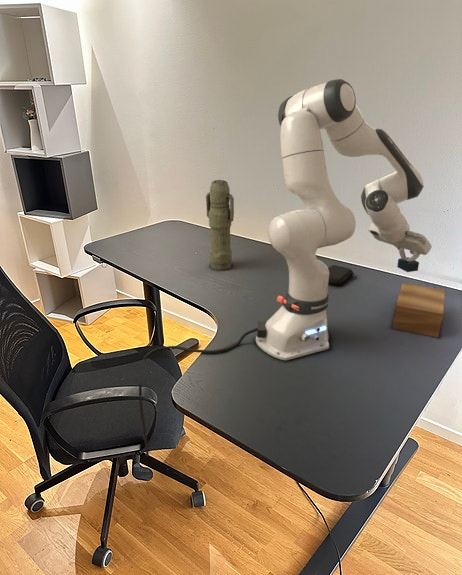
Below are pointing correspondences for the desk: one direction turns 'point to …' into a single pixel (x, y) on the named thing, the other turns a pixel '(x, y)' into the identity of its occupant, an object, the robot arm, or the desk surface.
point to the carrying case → (339, 274)
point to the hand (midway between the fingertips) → (407, 250)
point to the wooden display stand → (419, 309)
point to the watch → (408, 261)
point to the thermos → (220, 224)
